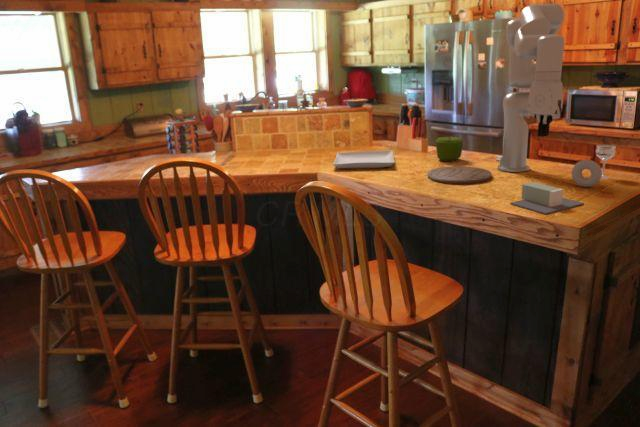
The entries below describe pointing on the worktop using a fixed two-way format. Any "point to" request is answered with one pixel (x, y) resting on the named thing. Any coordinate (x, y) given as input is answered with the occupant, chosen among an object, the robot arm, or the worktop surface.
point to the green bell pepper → (449, 148)
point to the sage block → (542, 194)
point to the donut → (589, 165)
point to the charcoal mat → (546, 209)
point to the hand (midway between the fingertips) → (542, 135)
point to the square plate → (364, 159)
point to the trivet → (459, 175)
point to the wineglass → (605, 155)
